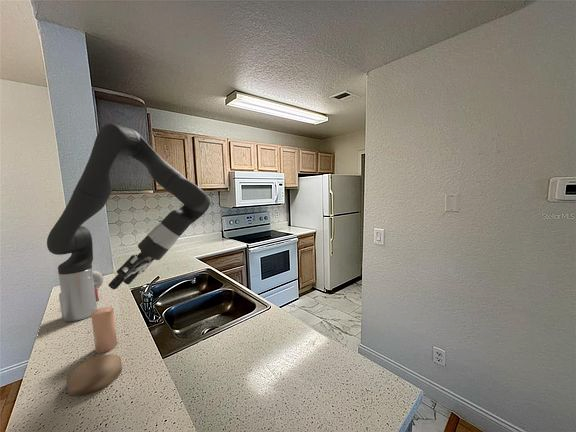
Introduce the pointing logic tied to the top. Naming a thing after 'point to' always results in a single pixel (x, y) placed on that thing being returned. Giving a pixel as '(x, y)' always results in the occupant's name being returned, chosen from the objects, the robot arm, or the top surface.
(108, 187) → the robot arm
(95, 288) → the lighter
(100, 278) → the donut
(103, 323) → the tan rounded post
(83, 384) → the brown disc
